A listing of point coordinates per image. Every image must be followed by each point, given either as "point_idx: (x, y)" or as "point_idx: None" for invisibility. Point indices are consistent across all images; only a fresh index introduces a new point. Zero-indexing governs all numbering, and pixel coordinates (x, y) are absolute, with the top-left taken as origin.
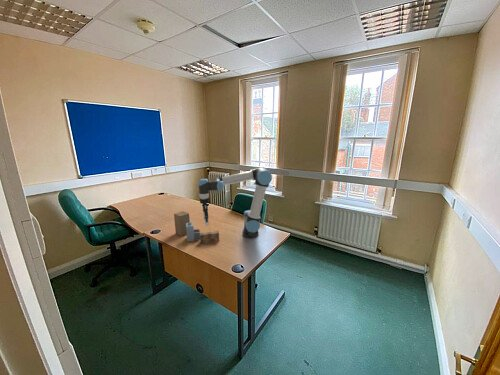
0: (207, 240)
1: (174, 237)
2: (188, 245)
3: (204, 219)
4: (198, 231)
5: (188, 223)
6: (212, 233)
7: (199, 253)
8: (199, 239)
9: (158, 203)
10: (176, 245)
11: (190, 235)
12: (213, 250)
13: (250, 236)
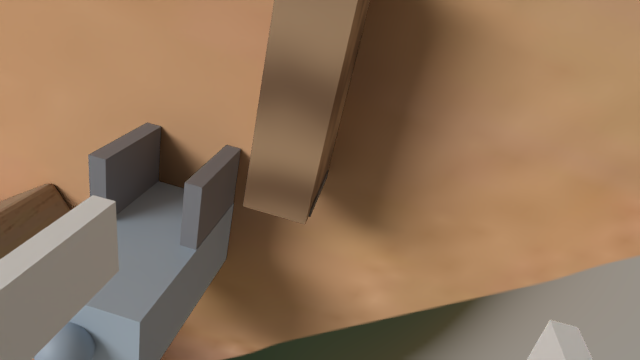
0: (341, 107)
1: None
2: (307, 274)
3: (115, 258)
4: (123, 161)
5: None
6: (338, 49)
7: (521, 246)
8: (238, 157)
9: None
10: (260, 342)
11: (203, 268)
12: (571, 103)
13: None
